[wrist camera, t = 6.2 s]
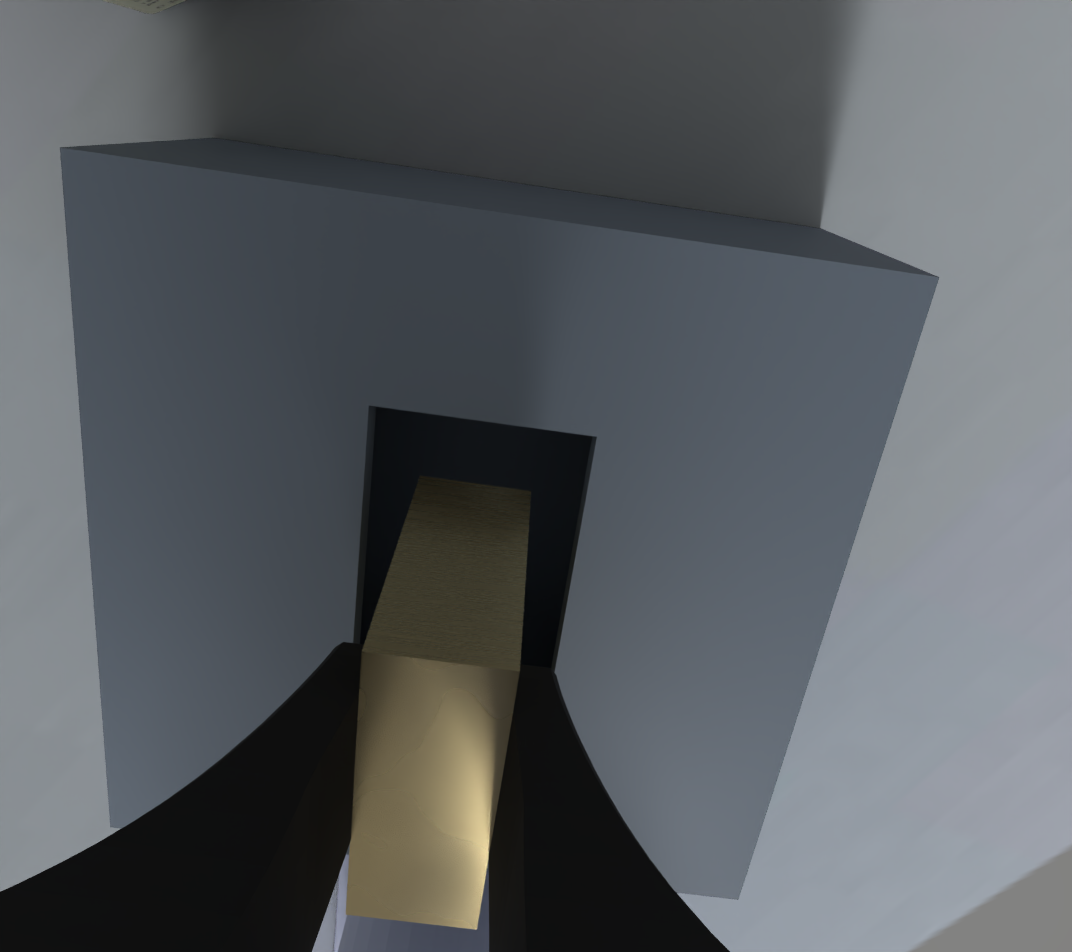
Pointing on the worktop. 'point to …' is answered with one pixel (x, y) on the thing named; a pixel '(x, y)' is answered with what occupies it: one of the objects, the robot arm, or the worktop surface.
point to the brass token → (438, 705)
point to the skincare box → (146, 4)
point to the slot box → (472, 452)
